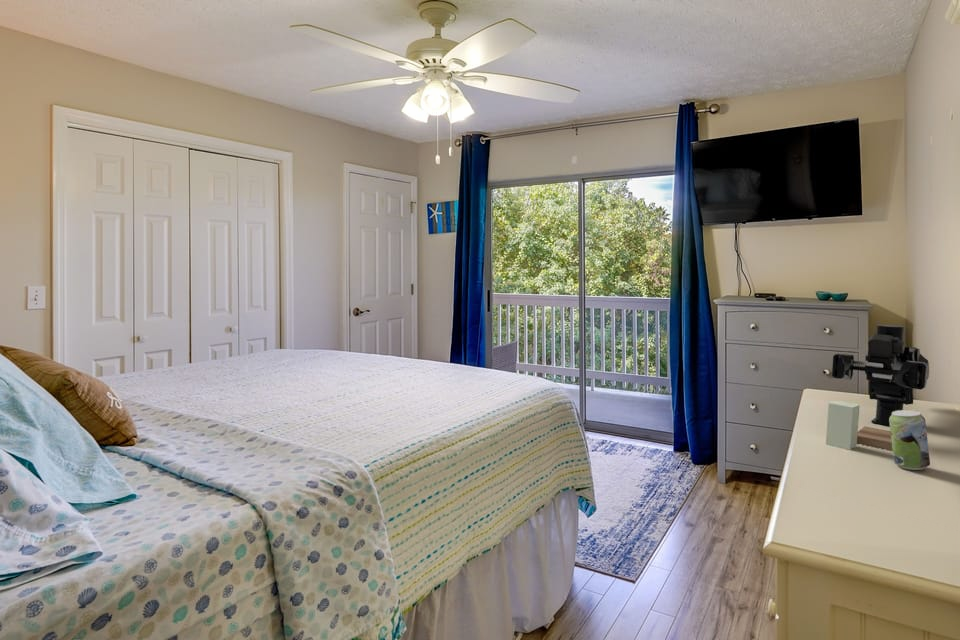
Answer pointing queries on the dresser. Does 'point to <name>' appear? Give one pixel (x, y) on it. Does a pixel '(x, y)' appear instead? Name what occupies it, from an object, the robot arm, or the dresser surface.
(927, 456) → the beverage can
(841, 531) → the dresser surface
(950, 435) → the dresser surface
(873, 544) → the dresser surface
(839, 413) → the sage block
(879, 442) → the walnut block
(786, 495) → the dresser surface
